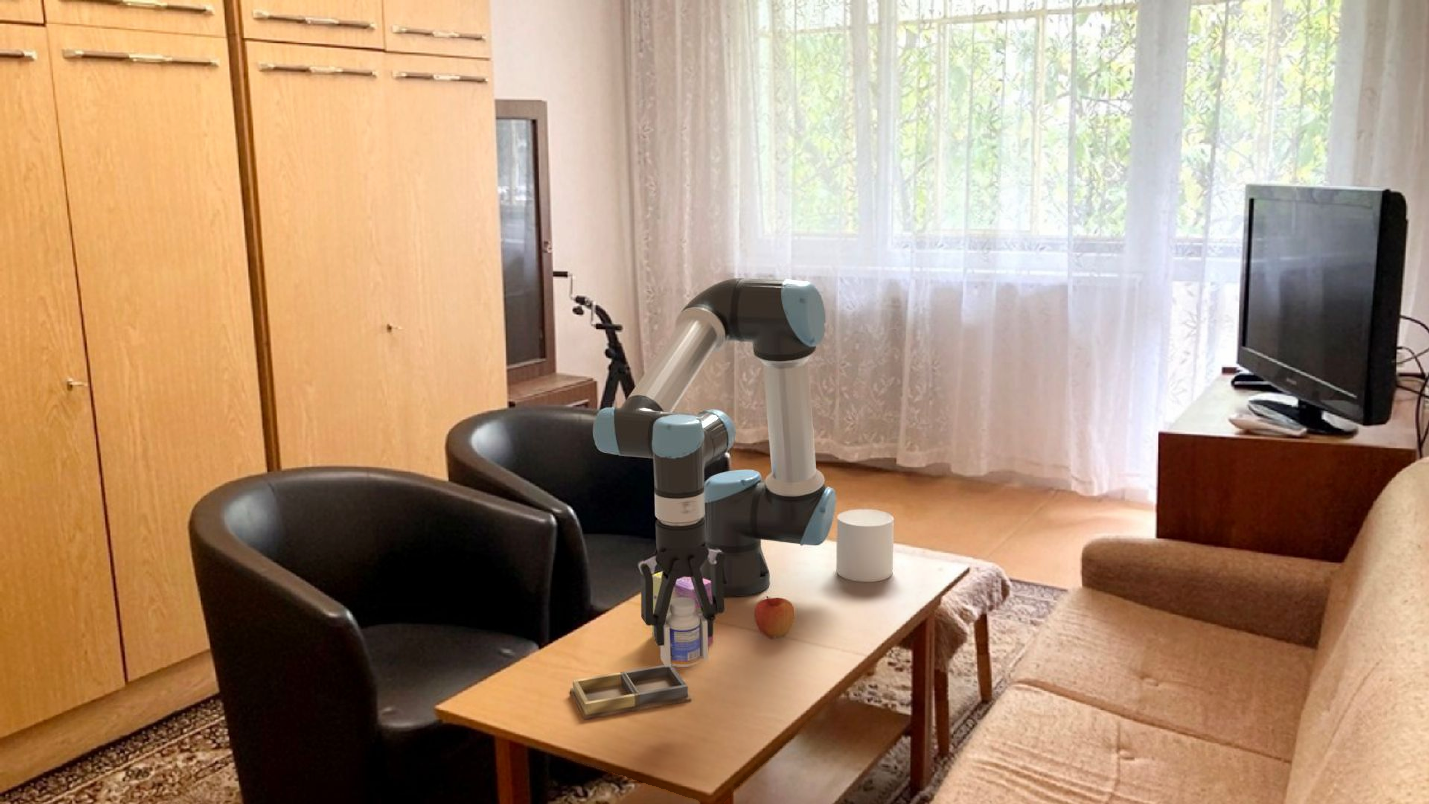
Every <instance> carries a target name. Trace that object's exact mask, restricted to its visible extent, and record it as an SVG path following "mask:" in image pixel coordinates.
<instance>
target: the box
mask: <svg viewBox="0 0 1429 804" xmlns="http://www.w3.org/2000/svg"><path fill="white" fill-rule="evenodd" d="M662 572H663V570H662V571H660V572H657V573H653V574H652V576H653V614H654V610H655V606H656V602H657V597H658V593H659V589H660V585H661V581H662V578H661V576H662ZM703 583H704V586H705V589H706V592H707V595H708V598H709V601H710V604H712V594H711V581H710V580H707V579H704V578H703ZM681 597H685V598H691V599H693V600H694V601H695V606H696V610H695V612H696V613H697V614H702V615H703V613H702V611H701V608H700V605H699V602H698V599H697V596H696V593H695V590H694V587H693V584H692V581H691V578H690V577H682V578H680V579H677V581H676V585H675V586H674V588H673V592H672V596H671V600H673V599H675V598H681ZM671 600H670V601H671ZM669 607H670V604H669ZM669 613H670V610H669V608H668V612H667V615H668V614H669ZM651 629H652V630H651V633H652V636H654V626H653V625H651ZM713 642H714V634H713V635H712V637H708V645H710V644H712V643H713Z"/></svg>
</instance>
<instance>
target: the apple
mask: <svg viewBox="0 0 1429 804" xmlns="http://www.w3.org/2000/svg"><path fill="white" fill-rule="evenodd" d="M795 618H796V610H795V607H794V604H793V603H792V602H791V601H789V600H787V599H786V598H783V597H771V598H769V596H766V598H765V599H761V600H760V601H758V602H757V604H756V605H755V608H754V620H755V621H754V622H755V624H756V626H757V628H758V630H759V631H760V632H761V633H762V634H763V635H764V636H766V637H767V638H768V639H770V640H772V639H776V638H778V637H785V636H786V635H787V634H789V632H790V631H791V629H792V627H793V626H794V623H795Z"/></svg>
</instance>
